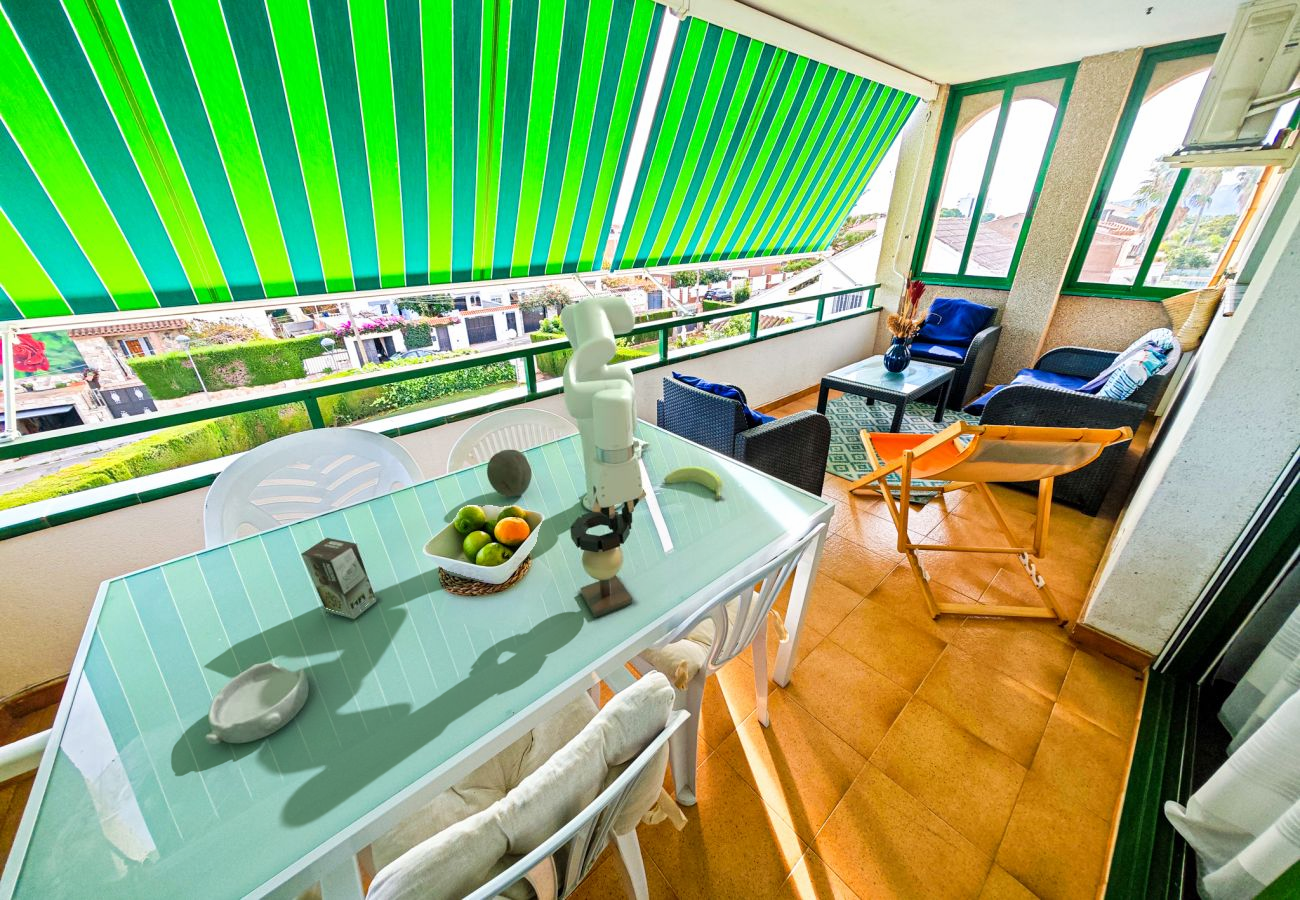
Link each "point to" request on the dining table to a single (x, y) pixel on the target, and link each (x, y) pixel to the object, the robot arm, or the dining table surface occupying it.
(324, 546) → the coffee box
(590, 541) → the ring
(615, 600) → the ball stand
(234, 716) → the dish
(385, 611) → the dining table surface
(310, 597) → the dining table surface
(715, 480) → the banana
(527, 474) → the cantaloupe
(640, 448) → the white disc with holes
